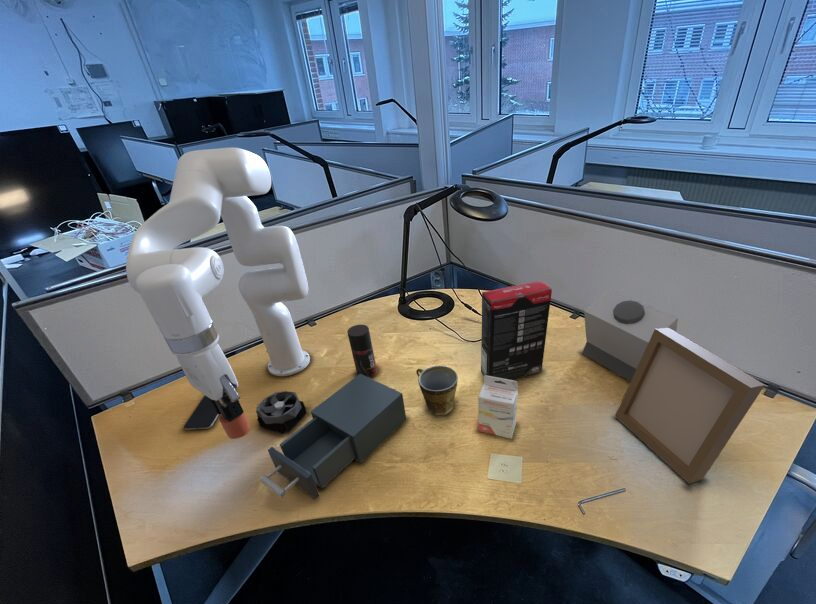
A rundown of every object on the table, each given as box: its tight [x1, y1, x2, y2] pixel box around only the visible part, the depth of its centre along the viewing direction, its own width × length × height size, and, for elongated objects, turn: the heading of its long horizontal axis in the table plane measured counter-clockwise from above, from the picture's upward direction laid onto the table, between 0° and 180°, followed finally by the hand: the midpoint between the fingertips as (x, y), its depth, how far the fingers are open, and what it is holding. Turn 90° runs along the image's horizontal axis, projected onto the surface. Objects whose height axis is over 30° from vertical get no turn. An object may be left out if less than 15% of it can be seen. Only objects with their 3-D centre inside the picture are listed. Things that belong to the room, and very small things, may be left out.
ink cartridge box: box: [477, 375, 519, 439], centre depth 97 cm, size 9×5×15 cm, turn 71°
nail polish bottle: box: [214, 393, 251, 440], centre depth 81 cm, size 4×4×10 cm
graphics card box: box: [480, 280, 553, 383], centre depth 111 cm, size 17×7×27 cm, turn 108°
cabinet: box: [310, 374, 407, 464], centre depth 101 cm, size 17×15×9 cm
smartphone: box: [183, 395, 220, 431], centre depth 113 cm, size 7×1×15 cm
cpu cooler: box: [255, 390, 307, 435], centre depth 107 cm, size 10×6×10 cm
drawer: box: [259, 417, 357, 500], centre depth 91 cm, size 20×13×7 cm, turn 145°
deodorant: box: [346, 324, 378, 378], centre depth 119 cm, size 6×6×15 cm
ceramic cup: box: [416, 365, 459, 416], centre depth 107 cm, size 13×10×10 cm
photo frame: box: [614, 328, 766, 484], centre depth 89 cm, size 15×22×25 cm
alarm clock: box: [581, 288, 679, 382], centre depth 114 cm, size 20×16×20 cm
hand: (230, 412), depth 81 cm, fingers closed on nail polish bottle, 2 cm apart
